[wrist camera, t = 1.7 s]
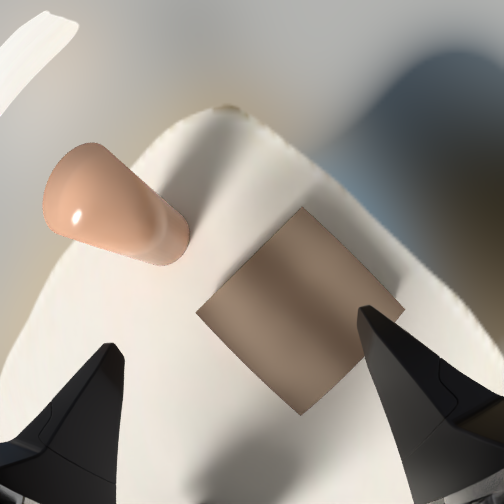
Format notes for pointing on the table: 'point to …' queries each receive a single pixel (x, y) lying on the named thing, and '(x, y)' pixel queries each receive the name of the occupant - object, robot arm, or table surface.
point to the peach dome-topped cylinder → (112, 208)
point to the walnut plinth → (297, 311)
